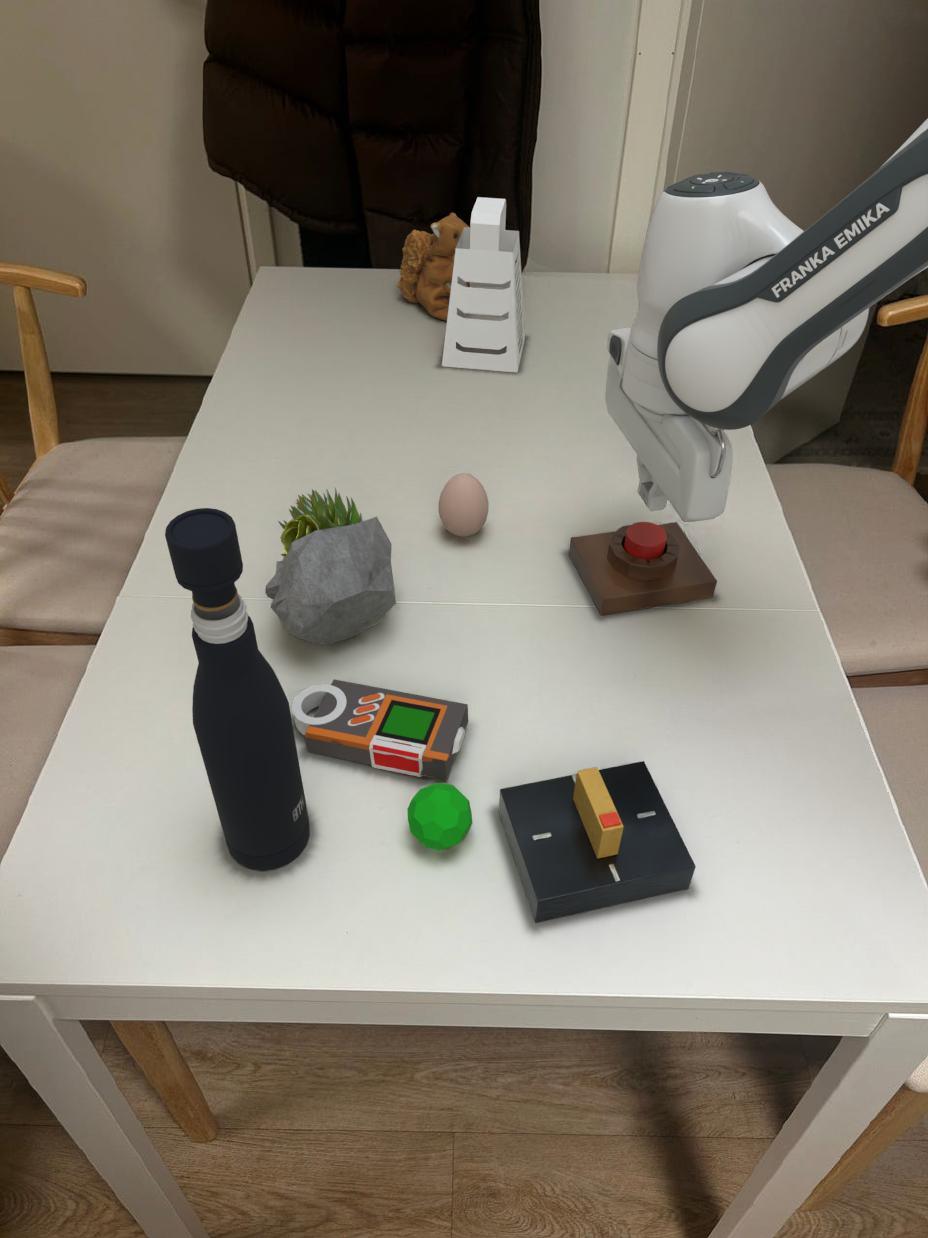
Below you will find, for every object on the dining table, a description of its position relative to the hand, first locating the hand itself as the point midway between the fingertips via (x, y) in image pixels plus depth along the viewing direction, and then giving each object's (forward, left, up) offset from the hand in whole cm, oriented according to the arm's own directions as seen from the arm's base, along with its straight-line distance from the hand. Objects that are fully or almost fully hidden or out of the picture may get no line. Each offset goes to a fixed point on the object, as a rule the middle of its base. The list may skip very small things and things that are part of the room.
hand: (651, 502), depth 90 cm
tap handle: (+16, +30, -6) cm, 35 cm away
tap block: (+16, +30, -9) cm, 35 cm away
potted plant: (+32, -2, -9) cm, 33 cm away
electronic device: (+30, +15, -9) cm, 35 cm away
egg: (+16, -11, -9) cm, 21 cm away
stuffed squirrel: (+6, -68, -9) cm, 69 cm away
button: (0, 0, -5) cm, 5 cm away
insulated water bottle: (+40, +23, -9) cm, 47 cm away
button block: (0, 0, -9) cm, 9 cm away
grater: (+3, -51, -9) cm, 52 cm away
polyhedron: (+27, +26, -9) cm, 39 cm away
